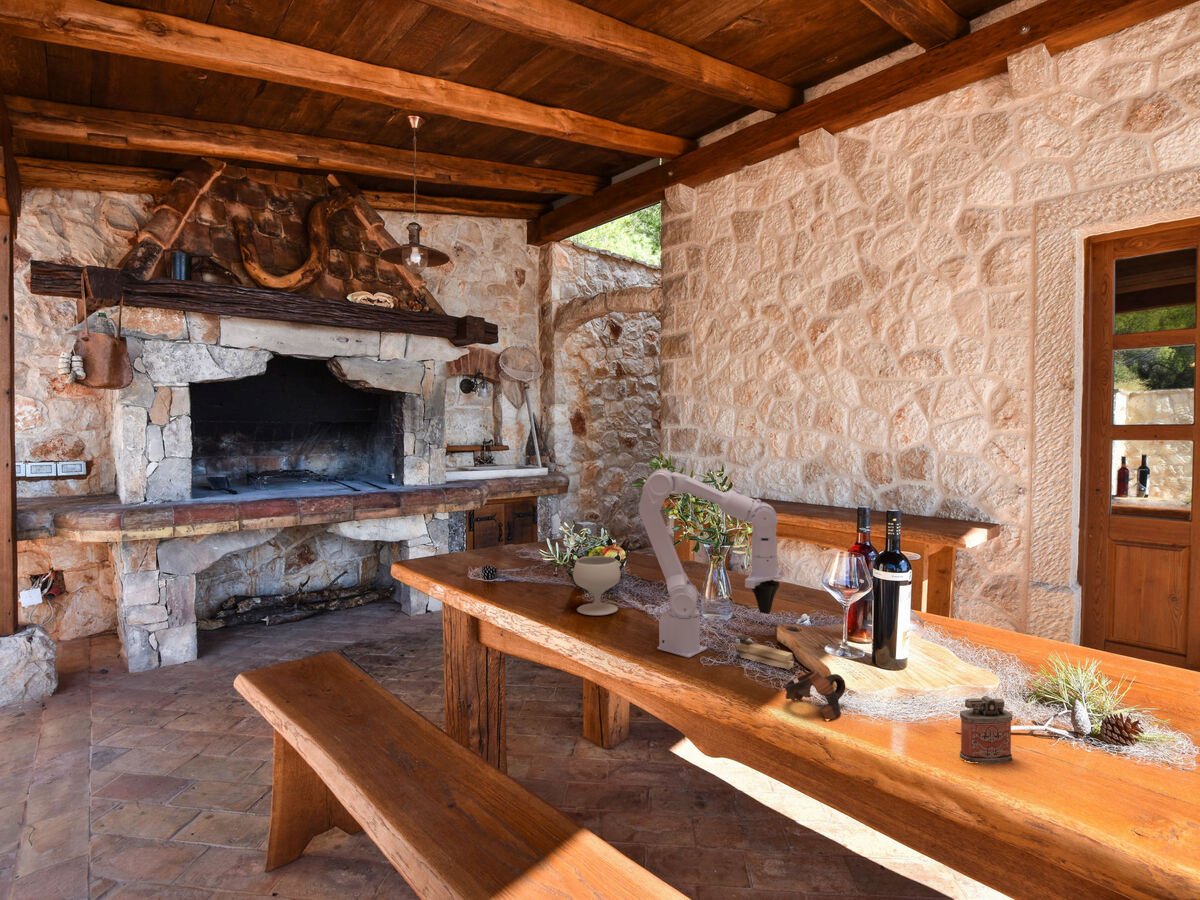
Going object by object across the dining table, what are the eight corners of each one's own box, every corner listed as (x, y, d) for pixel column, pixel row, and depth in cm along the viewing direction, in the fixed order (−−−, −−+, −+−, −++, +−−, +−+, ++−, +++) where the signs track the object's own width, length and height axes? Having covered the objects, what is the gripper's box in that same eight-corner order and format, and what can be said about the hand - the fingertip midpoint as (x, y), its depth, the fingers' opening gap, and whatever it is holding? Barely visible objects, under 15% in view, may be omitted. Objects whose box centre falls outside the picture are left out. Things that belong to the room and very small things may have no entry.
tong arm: (736, 649, 151) (736, 643, 151) (745, 645, 153) (745, 639, 153) (785, 663, 142) (785, 656, 142) (793, 658, 144) (793, 652, 144)
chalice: (573, 618, 184) (572, 566, 183) (573, 604, 198) (572, 555, 197) (622, 616, 185) (621, 564, 184) (619, 603, 199) (618, 554, 198)
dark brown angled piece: (818, 730, 117) (795, 685, 119) (791, 731, 125) (770, 690, 127) (866, 700, 121) (843, 658, 124) (837, 703, 130) (816, 664, 132)
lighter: (1003, 752, 107) (1003, 692, 106) (1017, 763, 103) (1017, 701, 103) (955, 754, 106) (955, 694, 106) (967, 765, 103) (967, 703, 103)
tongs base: (733, 657, 152) (733, 636, 151) (740, 653, 154) (740, 633, 154) (787, 671, 142) (787, 649, 142) (794, 667, 145) (794, 646, 145)
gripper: (764, 562, 144) (765, 623, 145) (794, 552, 155) (794, 608, 155) (736, 558, 149) (737, 617, 150) (767, 548, 160) (768, 603, 160)
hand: (764, 612), depth 153 cm, fingers closed
